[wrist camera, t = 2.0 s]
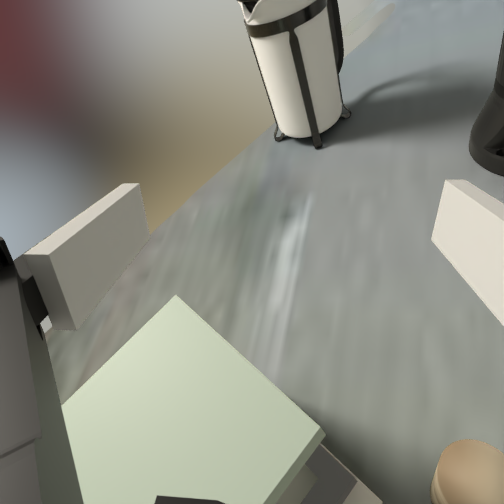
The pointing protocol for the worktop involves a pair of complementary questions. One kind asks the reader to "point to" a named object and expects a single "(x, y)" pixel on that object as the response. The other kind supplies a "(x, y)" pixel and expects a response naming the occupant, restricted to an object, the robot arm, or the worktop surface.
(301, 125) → the coffee press
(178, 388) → the awning socket
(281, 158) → the worktop surface
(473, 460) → the peg
